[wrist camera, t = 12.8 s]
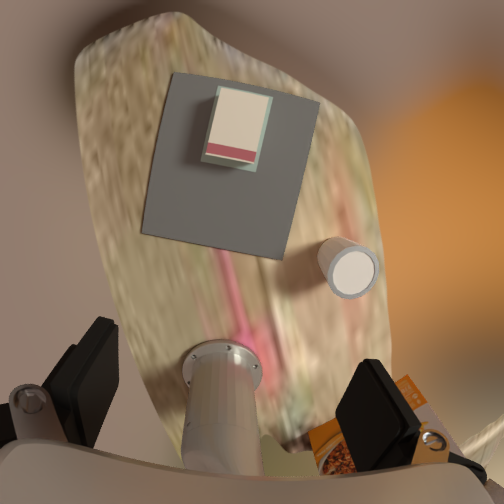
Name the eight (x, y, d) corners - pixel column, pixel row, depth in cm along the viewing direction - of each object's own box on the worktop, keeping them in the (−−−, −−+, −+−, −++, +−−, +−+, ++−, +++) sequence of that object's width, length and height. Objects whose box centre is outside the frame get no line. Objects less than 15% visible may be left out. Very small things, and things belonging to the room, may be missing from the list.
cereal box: (407, 374, 50) (484, 488, 21) (413, 390, 52) (482, 496, 23) (307, 431, 52) (342, 561, 24) (320, 444, 54) (354, 562, 26)
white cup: (367, 255, 42) (389, 272, 35) (333, 288, 43) (349, 310, 37) (339, 221, 40) (358, 233, 34) (302, 256, 42) (316, 275, 35)
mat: (281, 259, 41) (282, 260, 41) (142, 232, 39) (141, 233, 39) (319, 103, 36) (320, 102, 35) (174, 72, 33) (173, 71, 33)
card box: (222, 94, 34) (221, 87, 31) (265, 103, 35) (269, 97, 31) (207, 154, 36) (205, 154, 33) (251, 163, 37) (253, 163, 34)
